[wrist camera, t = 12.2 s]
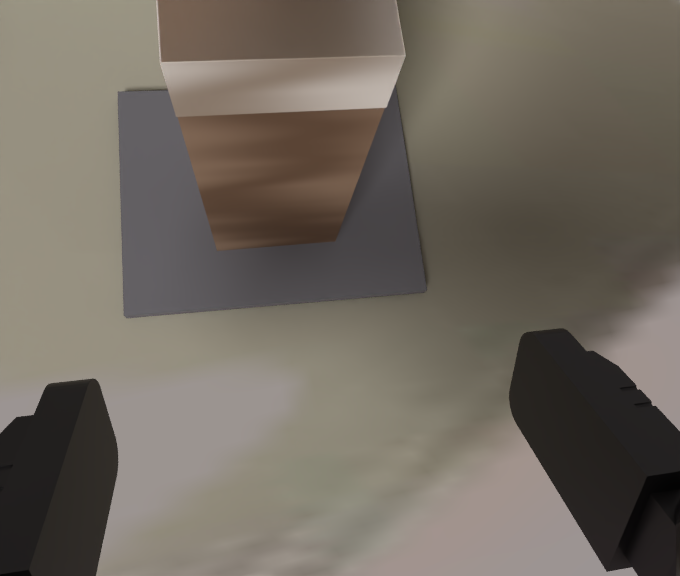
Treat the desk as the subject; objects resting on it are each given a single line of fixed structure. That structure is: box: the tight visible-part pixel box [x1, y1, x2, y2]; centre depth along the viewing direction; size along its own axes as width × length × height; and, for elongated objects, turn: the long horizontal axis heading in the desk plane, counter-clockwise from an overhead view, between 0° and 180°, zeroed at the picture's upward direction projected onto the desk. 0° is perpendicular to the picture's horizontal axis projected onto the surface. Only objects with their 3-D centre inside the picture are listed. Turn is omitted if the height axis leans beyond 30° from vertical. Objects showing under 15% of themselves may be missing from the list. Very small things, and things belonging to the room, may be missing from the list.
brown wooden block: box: [156, 0, 406, 251], centre depth 14 cm, size 4×4×10 cm
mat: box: [118, 85, 427, 318], centre depth 19 cm, size 10×8×1 cm
